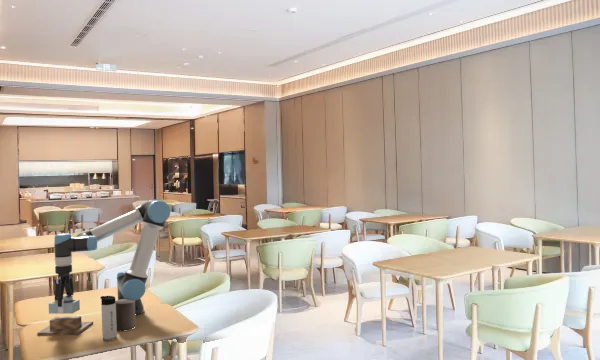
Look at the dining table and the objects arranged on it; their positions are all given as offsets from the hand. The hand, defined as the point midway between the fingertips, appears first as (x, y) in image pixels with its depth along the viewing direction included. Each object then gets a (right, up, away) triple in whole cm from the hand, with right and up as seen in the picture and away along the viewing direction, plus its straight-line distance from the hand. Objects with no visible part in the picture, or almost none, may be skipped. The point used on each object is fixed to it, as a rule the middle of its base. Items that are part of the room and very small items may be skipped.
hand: (65, 310), depth 244 cm
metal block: (+1, +4, 0) cm, 4 cm away
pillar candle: (+30, -9, 0) cm, 32 cm away
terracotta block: (-2, +4, 0) cm, 4 cm away
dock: (0, -9, 0) cm, 9 cm away
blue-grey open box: (0, 0, 0) cm, 1 cm away
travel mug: (+28, -9, -15) cm, 33 cm away
